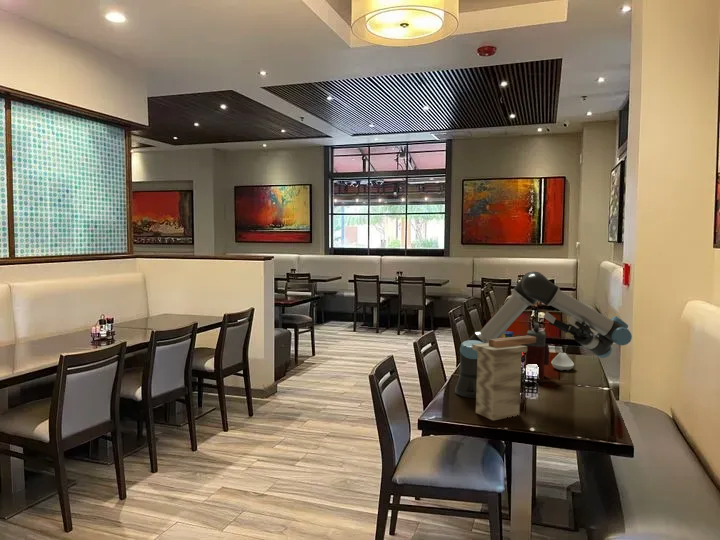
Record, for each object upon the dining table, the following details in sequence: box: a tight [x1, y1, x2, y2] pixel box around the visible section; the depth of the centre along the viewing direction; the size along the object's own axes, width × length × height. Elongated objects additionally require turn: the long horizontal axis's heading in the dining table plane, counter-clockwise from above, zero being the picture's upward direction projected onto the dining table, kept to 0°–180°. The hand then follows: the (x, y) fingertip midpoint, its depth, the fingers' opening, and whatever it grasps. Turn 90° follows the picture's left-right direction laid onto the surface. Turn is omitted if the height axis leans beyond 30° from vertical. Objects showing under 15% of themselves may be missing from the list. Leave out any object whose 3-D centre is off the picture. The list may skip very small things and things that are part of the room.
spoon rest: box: [551, 351, 575, 371], centre depth 288 cm, size 24×12×7 cm, turn 161°
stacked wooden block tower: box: [472, 343, 527, 421], centre depth 207 cm, size 12×18×28 cm, turn 118°
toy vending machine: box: [525, 322, 550, 380], centre depth 264 cm, size 9×11×28 cm
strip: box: [489, 334, 536, 347], centre depth 209 cm, size 4×22×2 cm, turn 118°
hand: (557, 316), depth 218 cm, fingers open, 12 cm apart
